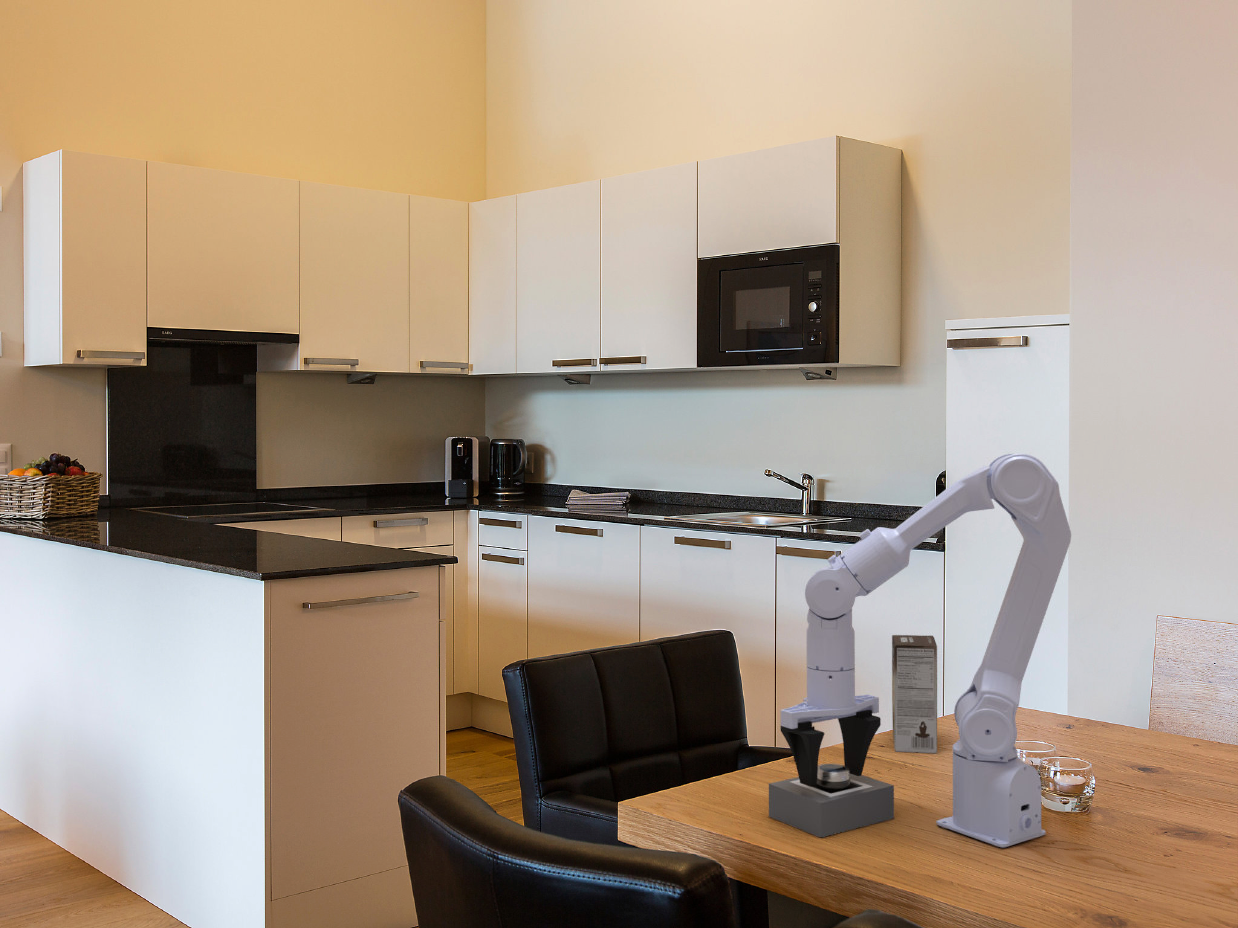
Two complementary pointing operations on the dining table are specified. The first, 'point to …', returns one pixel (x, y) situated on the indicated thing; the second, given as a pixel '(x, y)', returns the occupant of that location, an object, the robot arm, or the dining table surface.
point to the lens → (833, 778)
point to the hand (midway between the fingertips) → (831, 779)
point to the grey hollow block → (831, 805)
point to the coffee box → (914, 693)
